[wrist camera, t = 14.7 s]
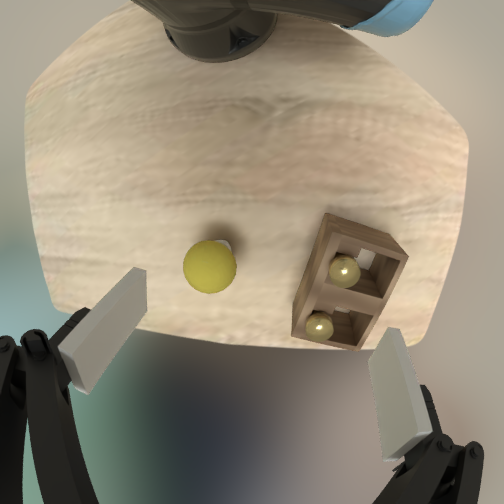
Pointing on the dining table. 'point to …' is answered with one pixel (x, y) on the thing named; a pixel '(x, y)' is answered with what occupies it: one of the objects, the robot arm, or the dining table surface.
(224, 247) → the light bulb
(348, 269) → the post
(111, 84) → the dining table surface
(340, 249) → the keyhole block
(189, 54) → the robot arm
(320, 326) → the post
